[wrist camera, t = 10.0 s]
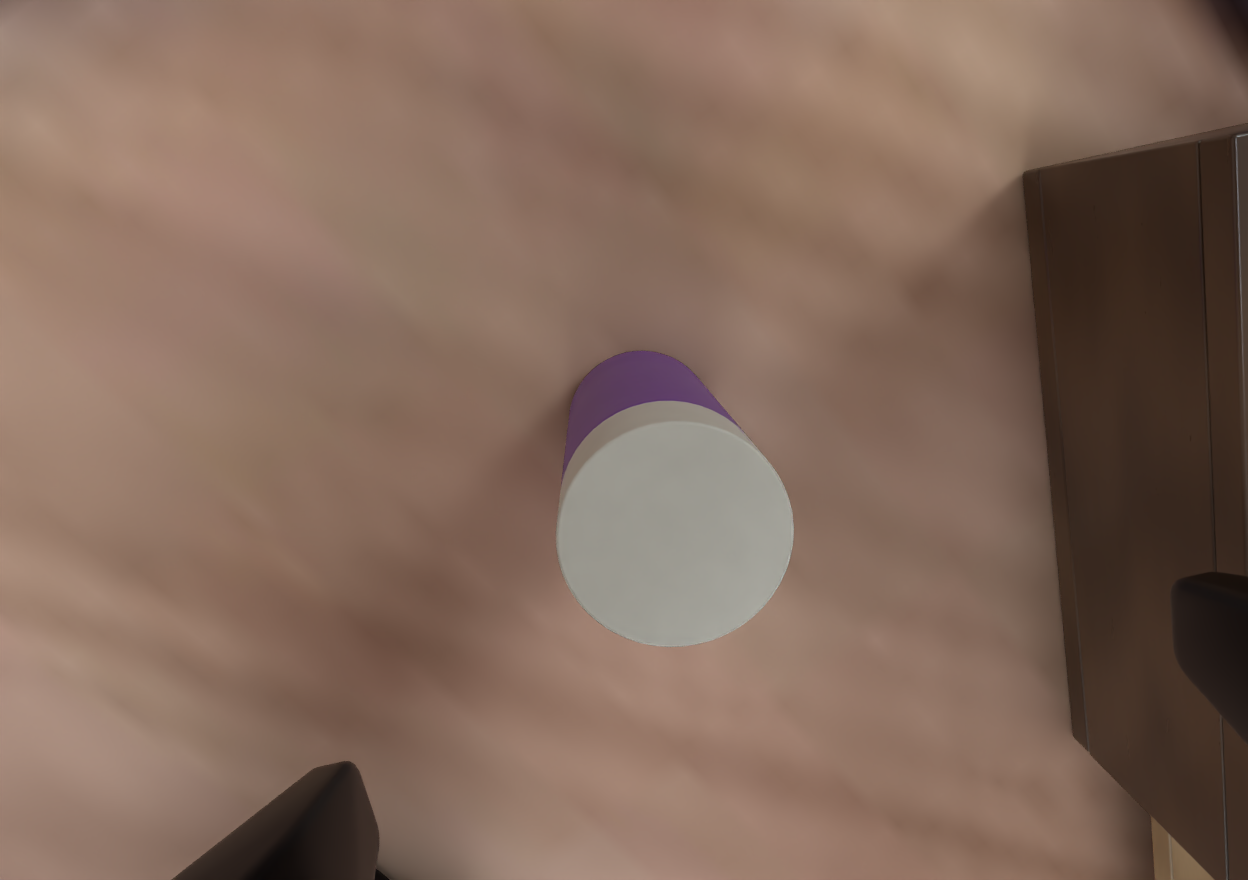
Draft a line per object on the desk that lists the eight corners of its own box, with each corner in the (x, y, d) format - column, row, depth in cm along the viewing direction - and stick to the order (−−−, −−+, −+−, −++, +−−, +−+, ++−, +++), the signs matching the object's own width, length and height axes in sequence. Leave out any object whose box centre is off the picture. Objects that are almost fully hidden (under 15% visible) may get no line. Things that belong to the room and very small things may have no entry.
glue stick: (635, 518, 21) (665, 692, 13) (539, 417, 20) (505, 532, 12) (740, 426, 21) (842, 544, 12) (646, 320, 20) (687, 370, 12)
